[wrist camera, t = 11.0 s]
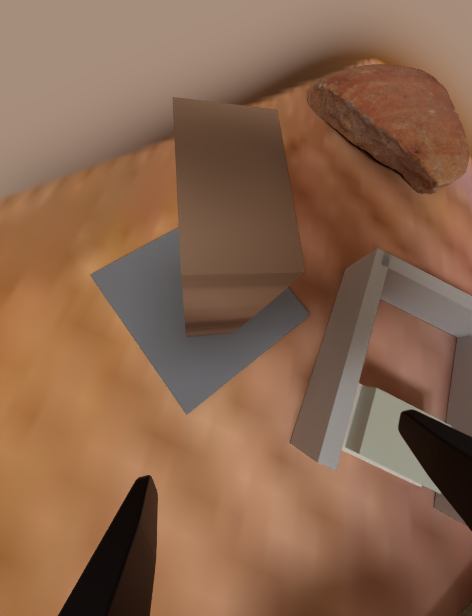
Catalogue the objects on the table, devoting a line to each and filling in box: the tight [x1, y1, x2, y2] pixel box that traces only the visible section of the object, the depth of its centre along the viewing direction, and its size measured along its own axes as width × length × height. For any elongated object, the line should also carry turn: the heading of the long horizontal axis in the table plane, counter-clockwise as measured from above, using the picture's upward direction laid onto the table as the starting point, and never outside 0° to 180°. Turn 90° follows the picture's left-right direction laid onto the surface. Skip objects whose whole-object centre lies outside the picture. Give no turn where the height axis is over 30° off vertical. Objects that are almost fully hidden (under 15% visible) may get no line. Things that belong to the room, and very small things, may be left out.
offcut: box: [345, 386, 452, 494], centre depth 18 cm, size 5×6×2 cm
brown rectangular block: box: [173, 97, 305, 337], centre depth 13 cm, size 6×4×12 cm, turn 6°
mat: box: [90, 227, 310, 415], centre depth 19 cm, size 12×12×1 cm
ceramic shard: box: [308, 64, 469, 194], centre depth 26 cm, size 15×6×15 cm
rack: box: [290, 248, 472, 526], centre depth 18 cm, size 15×13×4 cm
